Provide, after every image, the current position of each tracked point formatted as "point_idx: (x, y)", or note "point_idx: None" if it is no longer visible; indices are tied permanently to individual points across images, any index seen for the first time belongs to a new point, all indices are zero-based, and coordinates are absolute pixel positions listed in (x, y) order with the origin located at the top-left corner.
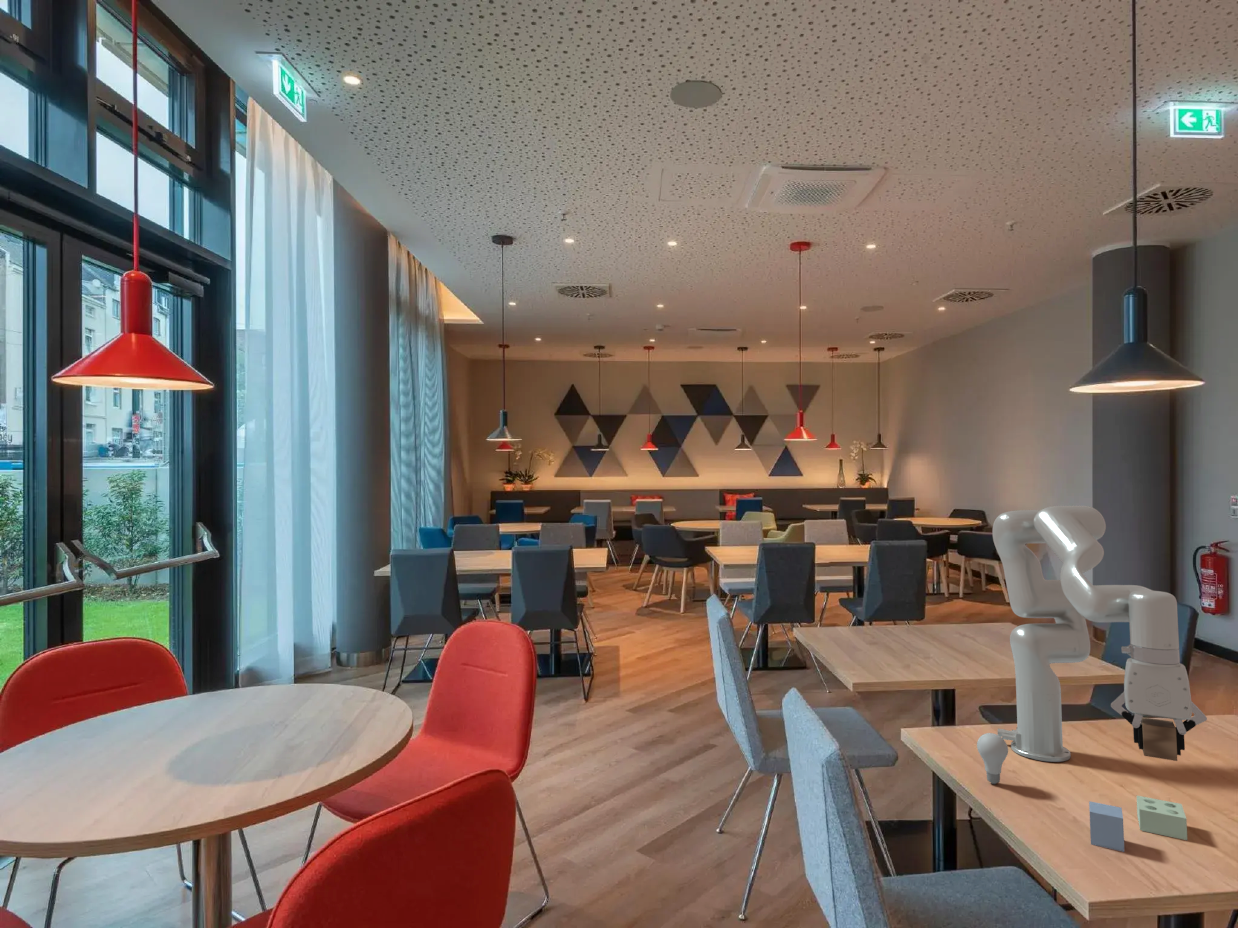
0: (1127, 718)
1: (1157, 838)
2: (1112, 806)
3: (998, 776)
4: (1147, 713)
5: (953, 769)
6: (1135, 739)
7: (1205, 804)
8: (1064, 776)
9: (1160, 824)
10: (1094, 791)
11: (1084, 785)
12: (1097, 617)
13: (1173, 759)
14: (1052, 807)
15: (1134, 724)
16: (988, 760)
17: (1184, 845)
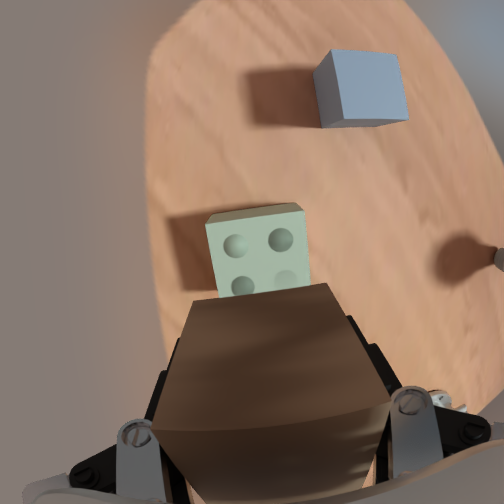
0: (455, 419)
1: (263, 182)
2: (362, 113)
3: (502, 256)
4: (393, 496)
5: None
6: (374, 350)
7: None
8: (404, 366)
9: (259, 211)
10: (368, 341)
11: None
12: None
13: (207, 300)
14: (435, 211)
15: (416, 401)
16: None
17: (215, 183)
